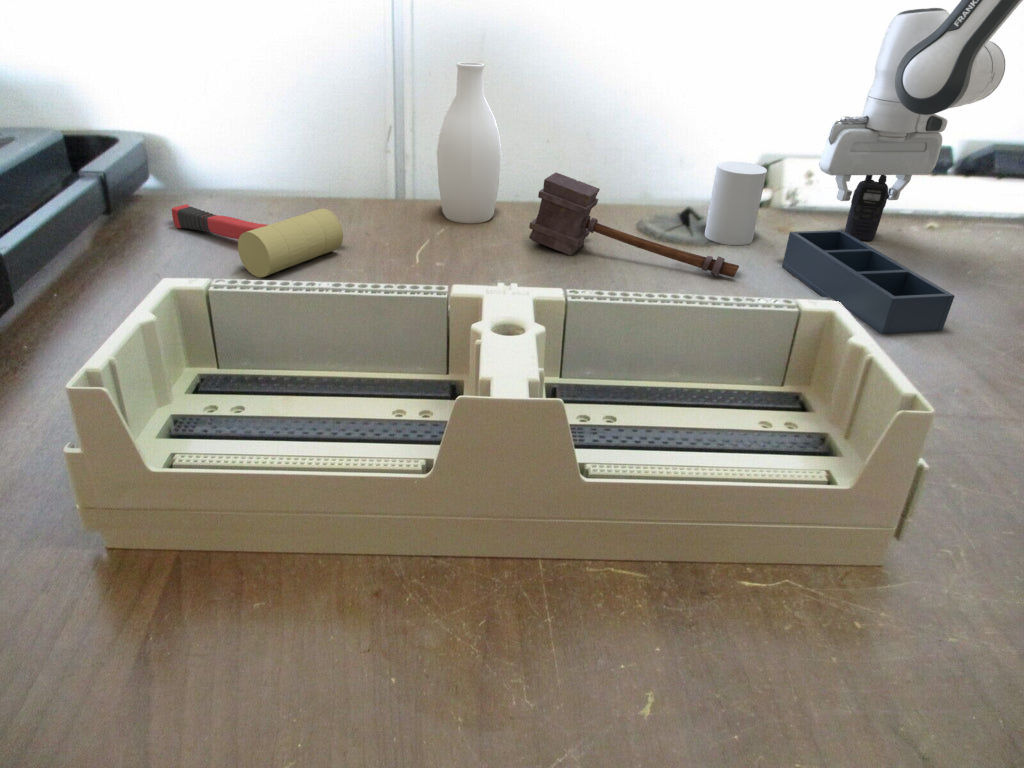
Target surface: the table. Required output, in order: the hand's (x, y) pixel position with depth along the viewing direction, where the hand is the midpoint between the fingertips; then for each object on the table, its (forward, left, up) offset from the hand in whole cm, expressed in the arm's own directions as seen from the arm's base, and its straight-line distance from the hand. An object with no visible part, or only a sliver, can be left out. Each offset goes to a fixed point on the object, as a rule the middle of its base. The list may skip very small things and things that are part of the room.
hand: (867, 199), depth 132 cm
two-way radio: (0, 0, -7) cm, 7 cm away
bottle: (+67, -17, -7) cm, 70 cm away
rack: (+17, +25, -7) cm, 31 cm away
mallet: (+105, -5, -7) cm, 105 cm away
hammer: (+45, +7, -7) cm, 46 cm away
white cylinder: (+24, -2, -7) cm, 25 cm away
